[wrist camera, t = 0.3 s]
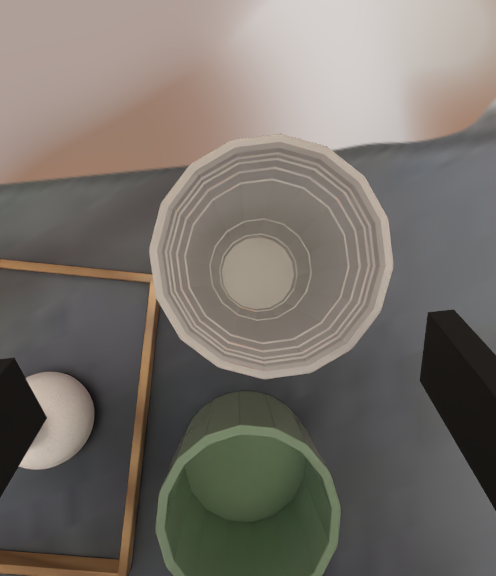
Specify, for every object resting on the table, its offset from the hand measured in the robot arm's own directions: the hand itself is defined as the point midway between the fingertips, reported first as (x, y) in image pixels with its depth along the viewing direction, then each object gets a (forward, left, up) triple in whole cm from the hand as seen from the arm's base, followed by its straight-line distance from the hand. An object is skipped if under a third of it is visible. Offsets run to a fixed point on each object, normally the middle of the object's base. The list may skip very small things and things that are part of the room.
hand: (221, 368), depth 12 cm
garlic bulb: (-7, +12, -16) cm, 21 cm away
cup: (-9, -2, -16) cm, 18 cm away
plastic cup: (+4, -2, -16) cm, 17 cm away
